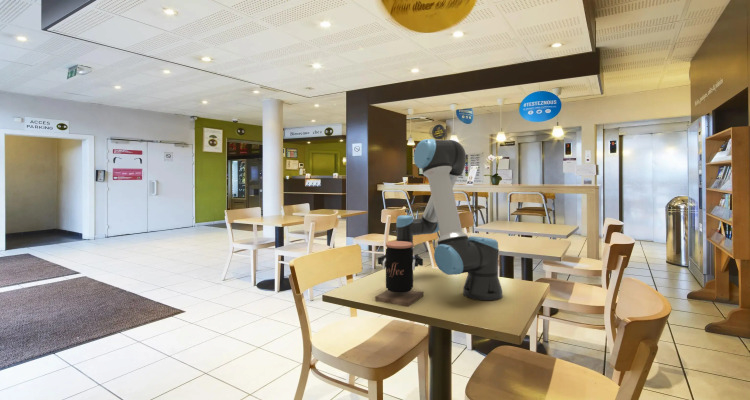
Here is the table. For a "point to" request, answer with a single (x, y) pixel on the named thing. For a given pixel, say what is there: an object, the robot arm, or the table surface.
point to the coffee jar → (399, 266)
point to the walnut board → (399, 297)
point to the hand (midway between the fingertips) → (398, 266)
